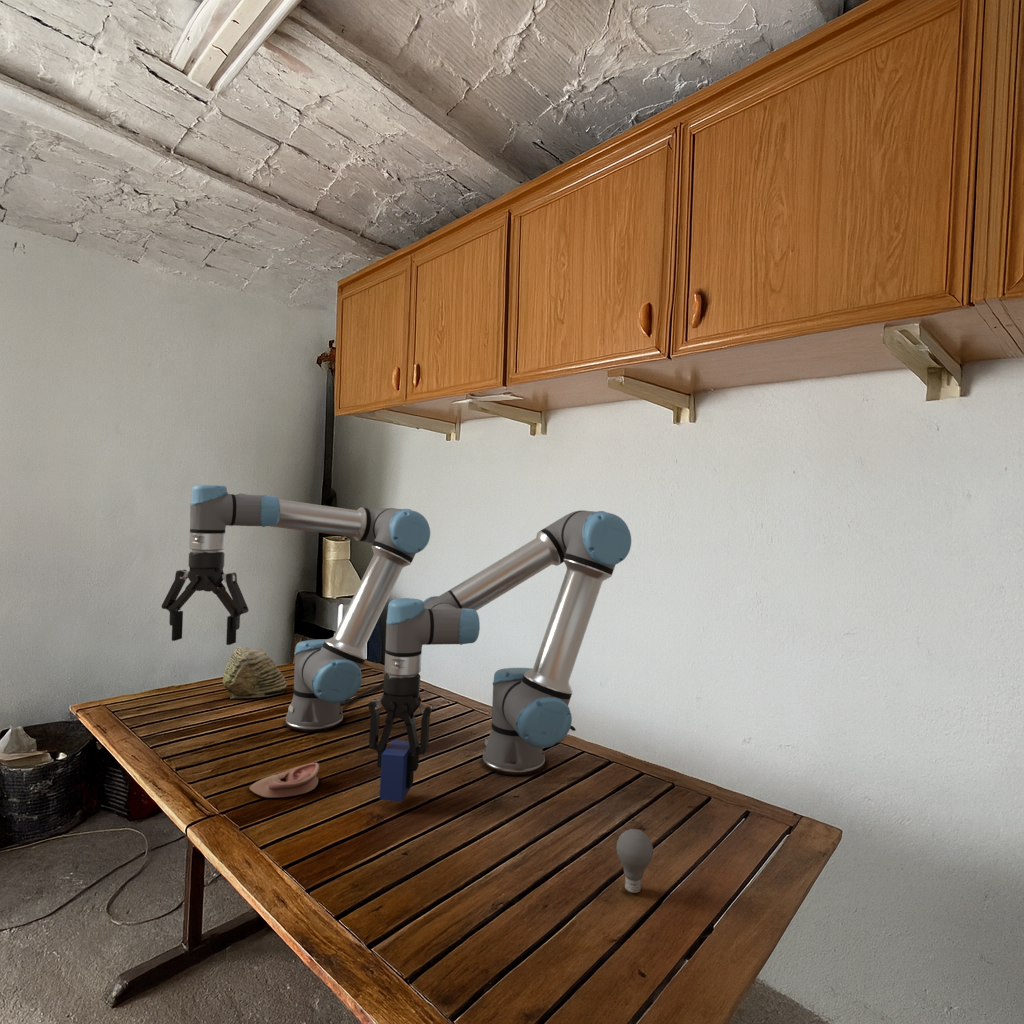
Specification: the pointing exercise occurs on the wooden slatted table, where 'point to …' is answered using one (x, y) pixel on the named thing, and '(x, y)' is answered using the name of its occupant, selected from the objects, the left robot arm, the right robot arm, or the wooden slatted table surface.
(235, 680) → the fossil
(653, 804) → the wooden slatted table surface
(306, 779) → the anatomical model
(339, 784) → the wooden slatted table surface
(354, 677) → the left robot arm
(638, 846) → the light bulb
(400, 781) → the brick
